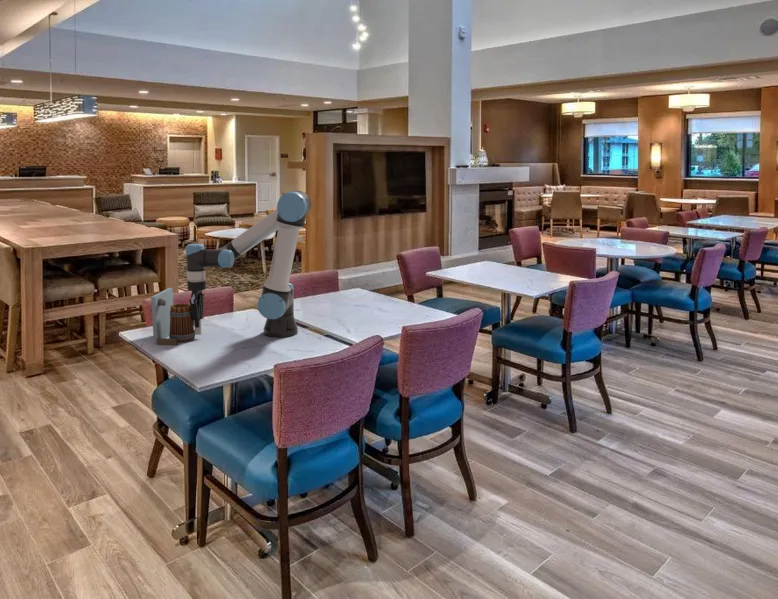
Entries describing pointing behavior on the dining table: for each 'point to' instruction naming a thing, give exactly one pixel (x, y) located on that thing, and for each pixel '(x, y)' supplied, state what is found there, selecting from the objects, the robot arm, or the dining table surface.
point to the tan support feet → (166, 341)
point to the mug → (181, 323)
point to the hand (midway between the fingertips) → (198, 334)
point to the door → (161, 313)
